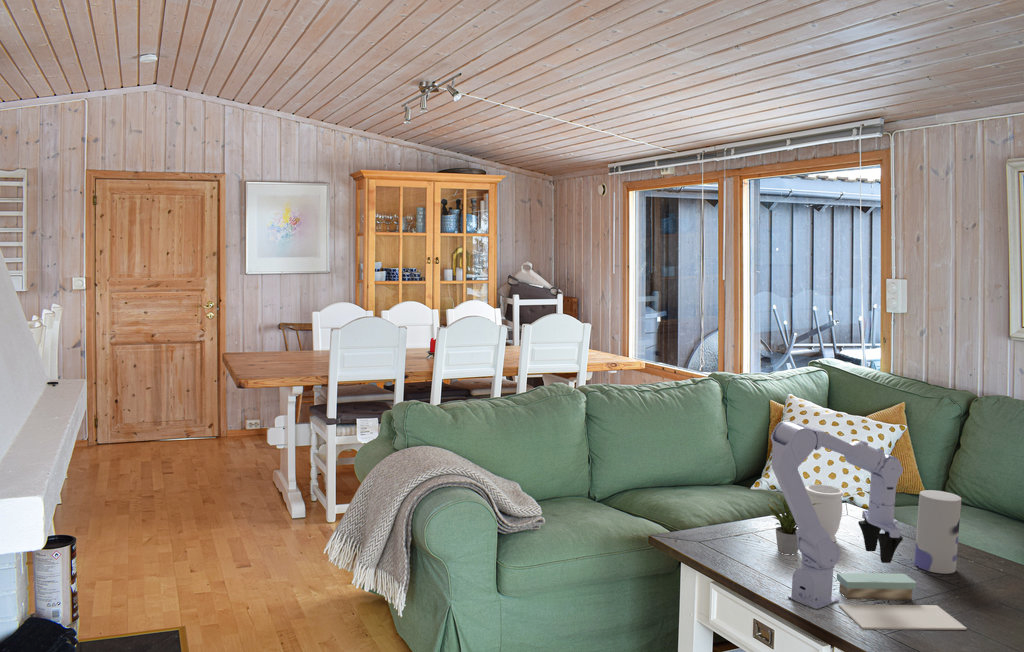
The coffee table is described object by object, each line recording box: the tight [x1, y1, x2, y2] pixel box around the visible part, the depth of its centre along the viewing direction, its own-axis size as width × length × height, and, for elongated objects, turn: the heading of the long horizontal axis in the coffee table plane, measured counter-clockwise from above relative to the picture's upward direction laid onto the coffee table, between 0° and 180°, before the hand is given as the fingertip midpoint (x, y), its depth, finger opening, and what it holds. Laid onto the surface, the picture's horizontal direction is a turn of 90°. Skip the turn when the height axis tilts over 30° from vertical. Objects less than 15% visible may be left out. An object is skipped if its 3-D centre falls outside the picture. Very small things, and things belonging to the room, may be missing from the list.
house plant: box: [766, 494, 819, 556], centre depth 231 cm, size 14×14×16 cm
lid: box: [836, 572, 918, 590], centre depth 202 cm, size 17×6×2 cm, turn 93°
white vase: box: [805, 484, 844, 543], centre depth 243 cm, size 11×10×15 cm
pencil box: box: [839, 582, 913, 601], centre depth 203 cm, size 16×4×4 cm, turn 93°
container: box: [914, 489, 962, 574], centre depth 222 cm, size 10×10×20 cm
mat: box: [838, 603, 968, 631], centre depth 191 cm, size 24×12×1 cm, turn 93°
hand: (878, 556), depth 202 cm, fingers open, 7 cm apart
